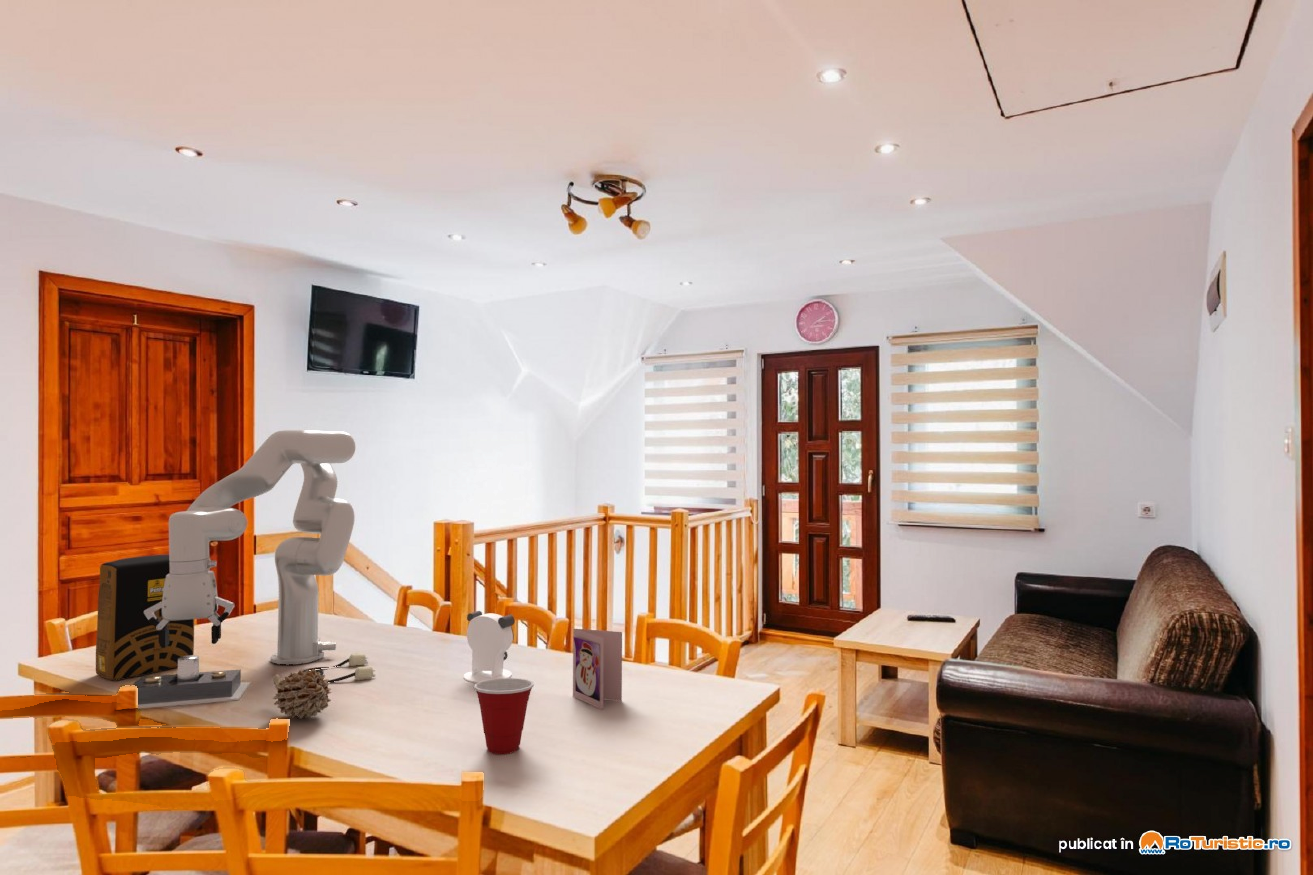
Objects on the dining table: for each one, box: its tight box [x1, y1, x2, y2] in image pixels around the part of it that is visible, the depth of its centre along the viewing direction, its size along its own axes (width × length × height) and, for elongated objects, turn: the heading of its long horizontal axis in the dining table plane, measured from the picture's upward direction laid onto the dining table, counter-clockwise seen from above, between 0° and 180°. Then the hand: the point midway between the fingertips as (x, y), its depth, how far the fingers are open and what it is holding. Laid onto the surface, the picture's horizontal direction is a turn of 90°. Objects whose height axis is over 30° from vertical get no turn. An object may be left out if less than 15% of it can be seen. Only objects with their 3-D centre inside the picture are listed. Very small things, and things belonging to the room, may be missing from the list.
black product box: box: [95, 553, 195, 682], centre depth 185 cm, size 11×19×28 cm, turn 147°
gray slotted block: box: [131, 668, 242, 705], centre depth 165 cm, size 20×9×4 cm, turn 108°
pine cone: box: [272, 669, 333, 719], centre depth 154 cm, size 22×10×10 cm, turn 53°
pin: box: [176, 654, 200, 683], centre depth 165 cm, size 4×4×8 cm
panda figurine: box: [463, 610, 515, 684], centre depth 182 cm, size 12×11×15 cm
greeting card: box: [572, 628, 623, 711], centre depth 164 cm, size 11×7×15 cm, turn 40°
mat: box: [137, 681, 251, 710], centre depth 165 cm, size 23×12×1 cm, turn 108°
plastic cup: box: [473, 677, 535, 755], centre depth 137 cm, size 11×11×12 cm
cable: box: [302, 653, 376, 683], centre depth 182 cm, size 16×16×4 cm
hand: (190, 644), depth 166 cm, fingers open, 9 cm apart
